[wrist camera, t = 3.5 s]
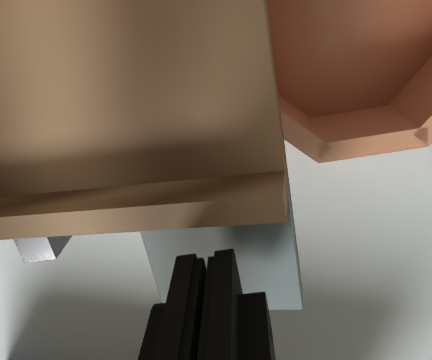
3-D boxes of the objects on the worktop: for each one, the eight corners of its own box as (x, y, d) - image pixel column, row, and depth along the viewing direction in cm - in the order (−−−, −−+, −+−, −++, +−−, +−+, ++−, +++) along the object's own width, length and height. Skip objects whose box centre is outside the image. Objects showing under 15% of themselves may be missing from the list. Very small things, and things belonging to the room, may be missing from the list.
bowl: (465, -155, 15) (551, -211, 11) (451, 104, 19) (509, 134, 15) (205, -93, 16) (194, -123, 12) (243, 138, 20) (245, 174, 16)
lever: (257, -112, 11) (232, -167, 7) (302, 263, 16) (302, 358, 12) (-213, 15, 15) (-395, 27, 11) (-61, 276, 20) (-149, 348, 16)
